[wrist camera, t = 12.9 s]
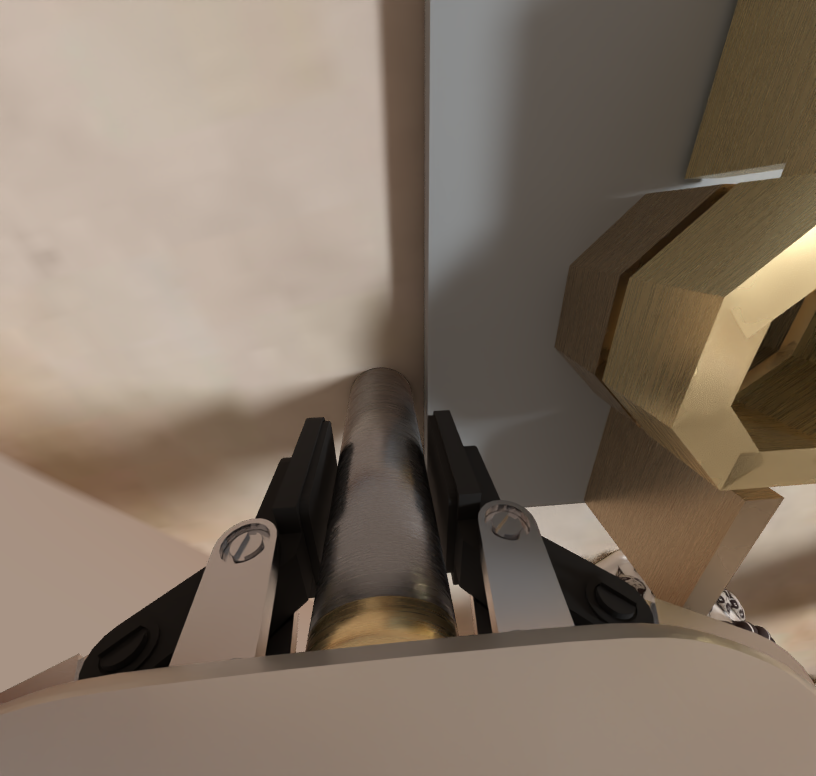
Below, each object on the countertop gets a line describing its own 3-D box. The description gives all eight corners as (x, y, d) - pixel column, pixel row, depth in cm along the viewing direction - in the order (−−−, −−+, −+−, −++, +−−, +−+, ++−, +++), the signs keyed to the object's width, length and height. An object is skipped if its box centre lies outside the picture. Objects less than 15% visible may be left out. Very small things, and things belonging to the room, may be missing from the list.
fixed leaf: (661, 494, 18) (784, 610, 12) (524, 504, 17) (590, 630, 12) (791, 191, 11) (1159, 158, 6) (582, 195, 11) (777, 163, 6)
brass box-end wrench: (714, 389, 15) (895, 477, 9) (548, 399, 14) (644, 496, 9) (931, -102, 8) (1807, -625, 3) (646, -114, 8) (1142, -746, 3)
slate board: (729, 475, 19) (749, 489, 18) (424, 497, 18) (427, 514, 17) (1239, -481, 7) (1390, -605, 6) (425, -584, 6) (435, -756, 5)
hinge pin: (411, 419, 16) (465, 739, 6) (353, 423, 16) (309, 758, 6) (410, 365, 15) (476, 656, 5) (347, 369, 14) (278, 678, 5)
